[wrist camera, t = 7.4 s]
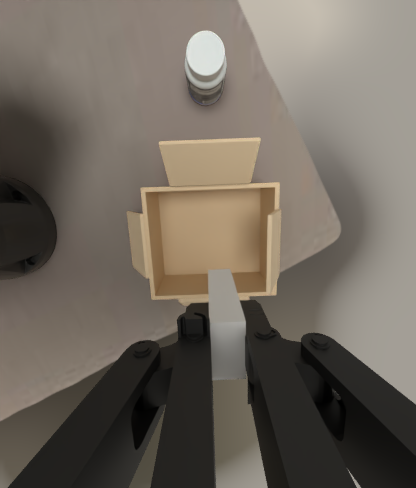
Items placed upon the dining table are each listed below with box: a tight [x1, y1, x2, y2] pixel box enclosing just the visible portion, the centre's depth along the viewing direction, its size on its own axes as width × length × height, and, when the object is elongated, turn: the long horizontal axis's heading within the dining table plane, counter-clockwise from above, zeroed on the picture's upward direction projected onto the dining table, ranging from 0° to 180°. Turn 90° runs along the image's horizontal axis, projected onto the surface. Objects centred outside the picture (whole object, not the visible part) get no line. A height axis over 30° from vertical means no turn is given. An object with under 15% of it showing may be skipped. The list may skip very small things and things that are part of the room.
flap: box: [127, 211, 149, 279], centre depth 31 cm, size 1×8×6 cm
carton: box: [141, 182, 280, 300], centre depth 33 cm, size 16×14×8 cm
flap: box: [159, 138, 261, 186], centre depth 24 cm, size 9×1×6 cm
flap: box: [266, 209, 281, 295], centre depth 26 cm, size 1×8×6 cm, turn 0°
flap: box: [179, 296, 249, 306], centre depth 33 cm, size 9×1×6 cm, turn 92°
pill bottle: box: [185, 31, 227, 105], centre depth 28 cm, size 5×5×8 cm
